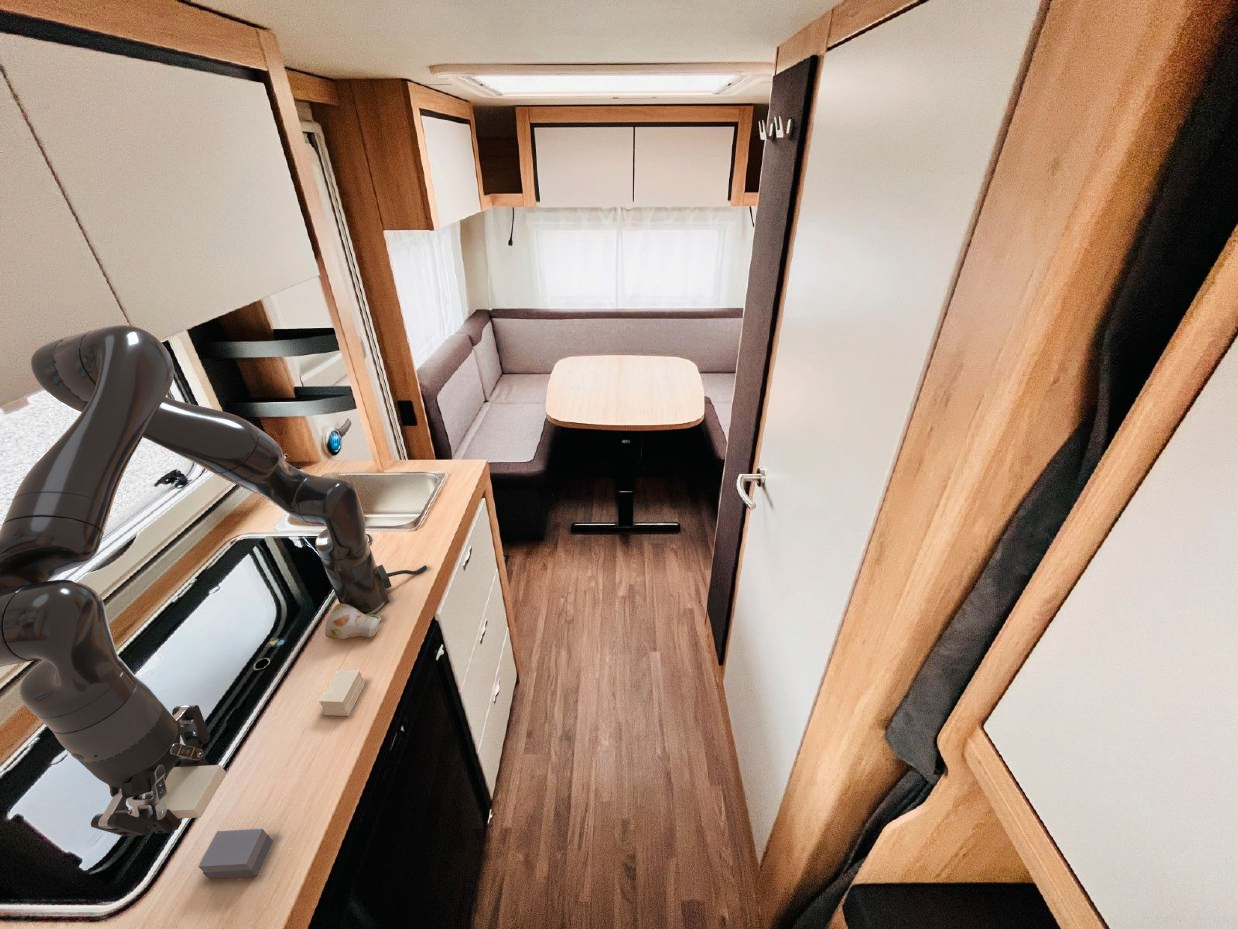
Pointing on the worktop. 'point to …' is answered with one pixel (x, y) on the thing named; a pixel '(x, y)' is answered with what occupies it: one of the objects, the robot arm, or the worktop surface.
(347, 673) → the white stack
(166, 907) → the worktop surface
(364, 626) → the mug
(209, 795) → the white book
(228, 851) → the grey stack
